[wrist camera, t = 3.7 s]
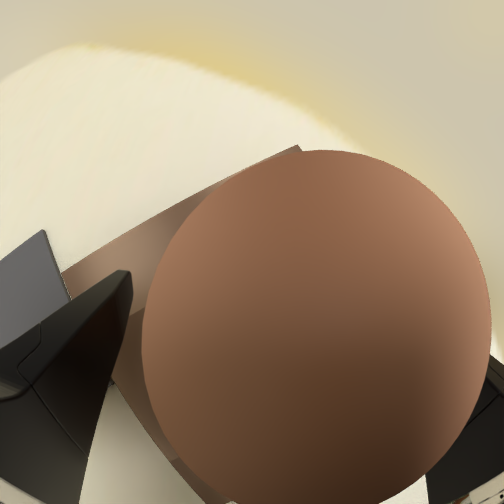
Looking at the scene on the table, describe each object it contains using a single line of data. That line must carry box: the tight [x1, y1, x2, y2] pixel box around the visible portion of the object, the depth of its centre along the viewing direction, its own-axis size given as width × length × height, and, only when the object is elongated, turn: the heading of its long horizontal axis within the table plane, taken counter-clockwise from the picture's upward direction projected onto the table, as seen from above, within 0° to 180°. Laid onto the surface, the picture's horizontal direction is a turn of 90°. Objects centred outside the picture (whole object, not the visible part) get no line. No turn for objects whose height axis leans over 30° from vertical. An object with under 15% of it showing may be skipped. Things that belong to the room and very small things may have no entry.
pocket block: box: [61, 145, 303, 504], centre depth 14 cm, size 13×13×4 cm
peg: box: [142, 150, 491, 504], centre depth 10 cm, size 5×5×13 cm
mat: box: [0, 230, 114, 387], centre depth 14 cm, size 10×10×1 cm
